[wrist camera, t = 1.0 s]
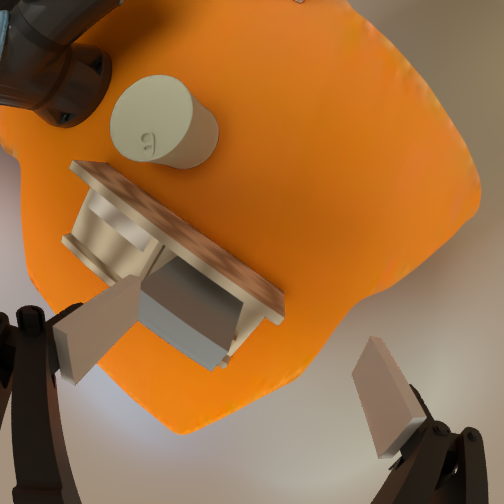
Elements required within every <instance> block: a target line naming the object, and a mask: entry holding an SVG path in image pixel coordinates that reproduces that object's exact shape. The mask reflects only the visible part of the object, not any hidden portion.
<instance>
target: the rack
mask: <svg viewBox="0 0 504 504" xmlns="http://www.w3.org/2000/svg"><path fill="white" fill-rule="evenodd" d="M69 169H70V170H72V171H73V172H74V173H75V174H76V175H77V176H79V177H80V178H81V179H82V180H83V181H84V182H86V183H87V184H88V185H89V186H90V189H89V191H88V193H87V195H86V198H85V200H84V202H83V204H82V207H81V209H80V211H79V214H78V216H77V219H76V221H75V224H74V226H73V229H72V231H71V233H70V234H66V235H63V237H62V240H61V242H62V243H63V244H64V245H65V246H66V247H67V248H68V249H69V250H70V251H71V252H72V253H73V254H74V255H75V256H76V257H78V258H79V259H80V260H81V261H82V262H83V263H84V264H85V265H86V266H87V267H88V268H89V269H91V270H92V271H93V272H94V273H95V274H96V275H97V276H98V277H99V278H101V279H102V280H103V281H104V282H105V283H106V284H108V285H109V286H110V287H111V286H112V285H114V284H115V283H117V282H118V281H120V280H121V279H123V278H124V277H126V276H128V275H129V274H131V275H134V276H137V277H140V278H141V281H143V280H144V279H145V278H147V277H148V276H150V275H151V274H152V273H154V272H155V271H157V270H158V269H159V268H161V267H162V266H164V265H165V264H166V263H168V262H169V261H171V260H172V259H174V258H175V257H176V256H179V257H181V258H182V259H183V260H185V261H186V262H187V263H189V264H190V265H192V266H193V267H194V268H196V269H197V270H198V271H200V272H201V273H203V274H204V275H205V276H207V277H208V278H209V279H211V280H212V281H214V282H215V283H216V284H218V285H219V286H221V287H222V288H223V289H225V290H226V291H228V292H229V293H231V294H232V295H233V296H235V297H236V298H238V299H239V300H241V301H242V302H244V303H243V306H242V310H241V313H240V316H239V320H238V323H237V326H236V330H235V331H237V332H238V335H237V339H236V342H235V343H234V344H233V345H232V346H231V348H230V350H229V352H228V353H227V355H226V356H225V357H224V358H223V359H222V360H221V361H220V362H219V364H218V366H219V367H221V368H223V369H224V368H225V367H226V366H227V365H228V363H229V360H230V357H231V356H232V354H233V353H234V352H235V351H236V350H237V349H238V348H239V347H240V345H241V344H242V343H243V342H244V341H245V340H246V339H247V337H248V336H249V335H250V334H251V333H252V332H253V331H254V329H255V328H256V327H257V326H258V325H259V324H260V322H261V321H262V320H263V319H264V318H265V317H266V318H267V319H269V320H270V321H272V322H273V323H275V324H276V325H279V324H280V323H281V322H282V321H283V320H284V319H285V311H284V292H283V291H281V290H280V289H279V288H277V287H276V286H274V285H273V284H272V283H270V282H269V281H267V280H266V279H265V278H263V277H262V276H260V275H259V274H258V273H256V272H255V271H253V270H252V269H251V268H249V267H248V266H246V265H245V264H244V263H242V262H241V261H239V260H238V259H237V258H235V257H234V256H232V255H231V254H230V253H228V252H227V251H225V250H224V249H223V248H221V247H220V246H218V245H217V244H216V243H214V242H213V241H212V240H210V239H209V238H207V237H206V236H205V235H203V234H202V233H201V232H199V231H198V230H196V229H195V228H194V227H192V226H191V225H190V224H188V223H187V222H185V221H184V220H183V219H181V218H180V217H179V216H177V215H176V214H174V213H173V212H172V211H170V210H169V209H168V208H166V207H165V206H164V205H162V204H161V203H160V202H158V201H157V200H155V199H154V198H153V197H151V196H150V195H149V194H147V193H146V192H145V191H143V190H142V189H141V188H139V187H138V186H137V185H135V184H134V183H133V182H131V181H130V180H129V179H127V178H126V177H125V176H123V175H122V174H121V173H119V172H118V171H117V170H115V169H114V168H113V167H111V166H110V165H109V164H107V163H103V162H92V161H79V160H73V161H72V163H71V165H70V167H69Z"/></svg>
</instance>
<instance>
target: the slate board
mask: <svg viewBox="0 0 504 504" xmlns="http://www.w3.org/2000/svg"><path fill="white" fill-rule="evenodd" d="M243 303H244V302H242V301H241V300H239V299H238V298H236V297H235V296H233V295H232V294H231V293H229V292H228V291H226V290H225V289H223V288H222V287H221V286H219V285H218V284H216V283H215V282H214V281H212V280H211V279H209V278H208V277H207V276H205V275H204V274H203V273H201V272H200V271H198V270H197V269H196V268H194V267H193V266H192V265H190V264H189V263H187V262H186V261H185V260H183V259H182V258H181V257H179V256H176V257H175V258H174V259H172V260H171V261H169V262H168V263H166V264H165V265H164V266H162V267H161V268H159V269H158V270H157V271H155V272H154V273H152V274H151V275H150V276H148V277H147V278H145V279H144V280H143V281H141V287H140V298H139V311H138V321H139V322H141V323H142V324H143V325H144V326H146V327H147V328H148V329H150V330H151V331H152V332H154V333H155V334H157V335H158V336H159V337H161V338H162V339H163V340H165V341H166V342H168V343H169V344H170V345H172V346H173V347H175V348H176V349H178V350H179V351H181V352H182V353H183V354H185V355H186V356H188V357H189V358H191V359H192V360H194V361H195V362H197V363H199V364H200V365H202V366H203V367H205V368H206V369H208V370H210V371H212V370H213V369H214V368H215V367H216V366H217V365H218V364H219V362H220V361H221V360H222V359H223V358H224V357H225V356H226V355H227V353H228V352H229V350H230V346H231V343H232V340H233V336H234V333H235V330H236V326H237V323H238V320H239V316H240V313H241V310H242V306H243Z"/></svg>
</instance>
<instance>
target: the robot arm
mask: <svg viewBox="0 0 504 504" xmlns="http://www.w3.org/2000/svg"><path fill="white" fill-rule="evenodd" d="M124 1H125V0H20V1H19V3H18V4H17V5H16V6H15V7H14V8H13V9H12V10H11V11H10V12H9V11H8V10H2V11H0V105H4V106H10V107H16V108H22V109H27V110H32V111H34V112H35V113H36V114H37V115H39V116H40V117H41V118H42V119H43V120H45V121H46V122H47V123H49V124H50V125H53V126H56V127H61V128H69V127H73V126H75V125H77V124H79V123H81V122H82V121H83V120H85V119H86V118H87V117H88V116H89V115H90V114H91V113H92V112H93V111H94V110H95V108H96V107H97V106H98V104H99V103H100V101H101V100H102V98H103V96H104V94H105V92H106V90H107V88H108V85H109V82H110V78H111V72H112V65H111V60H110V57H109V56H108V54H107V53H106V52H105V51H103V50H102V49H100V48H99V47H97V46H94V45H89V44H79V43H73V42H74V41H75V40H77V39H78V38H79V37H80V36H81V35H82V34H83V33H84V32H86V31H87V30H88V29H89V28H90V27H91V26H93V25H94V24H95V23H96V22H98V21H99V20H100V19H101V18H103V17H104V16H105V15H107V14H108V13H109V12H111V11H112V10H113V9H115V8H116V7H117V6H120V5H122V4H123V2H124ZM140 287H141V278H140V277H137V276H134V275H131V274H129V275H128V276H126V277H124V278H123V279H121V280H120V281H118V282H117V283H115V284H114V285H112V286H111V287H109V288H108V289H106V290H104V291H103V292H101V293H100V294H98V295H97V296H95V297H94V298H92V299H91V300H90V301H88V302H87V303H85V304H83V303H81V302H80V303H76V304H73V305H71V306H69V307H67V308H66V309H65V310H63V311H61V312H60V313H59V314H57V315H55V316H54V317H52V318H51V319H49V320H48V321H46V322H45V314H44V311H43V310H42V309H41V308H40V307H38V306H33V305H28V306H24V307H21V308H20V309H18V310H17V312H16V317H17V323H18V327H16V326H12V325H10V324H9V318H8V316H7V315H6V314H5V313H3V312H0V429H1V425H2V421H3V417H4V413H5V410H6V407H7V404H8V400H9V397H10V394H11V391H12V401H11V405H12V406H11V425H12V426H11V427H12V445H13V457H14V466H15V473H16V480H17V485H16V486H15V487H14V488H13V490H12V496H13V502H14V504H82V503H81V500H80V497H79V494H78V491H77V488H76V485H75V482H74V478H73V475H72V471H71V467H70V464H69V460H68V455H67V451H66V446H65V442H64V436H63V432H62V425H61V419H60V412H59V404H58V396H57V387H56V386H57V385H56V376H55V372H56V371H57V370H58V369H60V372H61V377H62V379H64V380H66V381H68V382H69V383H71V384H73V385H74V386H75V385H76V384H77V383H78V382H79V381H80V380H81V379H82V378H83V377H84V376H85V375H86V374H87V373H88V371H89V370H90V369H91V368H92V367H93V366H94V365H95V364H96V363H97V362H98V361H99V360H100V359H101V358H102V357H103V356H104V355H105V354H106V352H107V351H108V350H109V349H110V348H111V347H112V346H113V345H114V344H115V343H116V342H117V341H118V340H119V339H120V338H121V337H122V336H123V335H124V334H125V333H126V332H127V331H128V330H129V329H130V328H131V327H132V326H133V325H134V324H135V323H136V322H137V321H138V311H139V298H140ZM352 376H353V380H354V383H355V385H356V388H357V391H358V394H359V397H360V400H361V403H362V407H363V410H364V412H365V416H366V419H367V422H368V425H369V428H370V431H371V435H372V438H373V441H374V445H375V448H376V452H377V455H378V458H379V459H380V458H381V459H382V458H392V457H393V456H394V455H395V454H396V453H397V452H398V451H399V450H400V452H401V454H402V456H401V457H400V458H399V459H398V460H397V461H396V462H395V463H394V464H393V465H392V466H391V467H390V468H389V470H391V469H392V468H393V469H392V471H391V473H390V474H389V476H388V478H387V479H386V481H385V482H384V484H383V486H382V487H381V489H380V490H379V492H378V493H377V495H376V497H375V498H374V499H373V501H372V502H371V504H488V481H487V469H486V460H485V453H484V446H483V440H482V436H481V434H480V433H479V431H478V430H477V429H475V428H472V427H466V428H465V429H464V430H463V431H462V432H461V434H455V433H451V431H450V429H449V427H448V426H447V425H446V424H444V423H443V422H441V421H434V419H433V417H432V416H431V414H430V412H429V410H428V408H427V406H426V405H425V404H424V401H423V399H421V396H420V394H419V392H418V391H417V390H416V389H415V388H414V387H413V386H412V385H411V384H408V382H407V380H406V379H405V377H404V375H403V374H402V372H401V370H400V368H399V367H398V365H397V363H396V362H395V360H394V358H393V357H392V355H391V353H390V352H389V350H388V349H387V347H386V345H385V343H384V342H383V340H382V339H381V338H377V337H371V336H370V338H369V340H368V342H367V344H366V346H365V348H364V350H363V352H362V354H361V357H360V358H359V360H358V363H357V365H356V366H355V368H354V370H353V372H352ZM457 468H458V469H457ZM455 469H457V472H456V473H455Z"/></svg>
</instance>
